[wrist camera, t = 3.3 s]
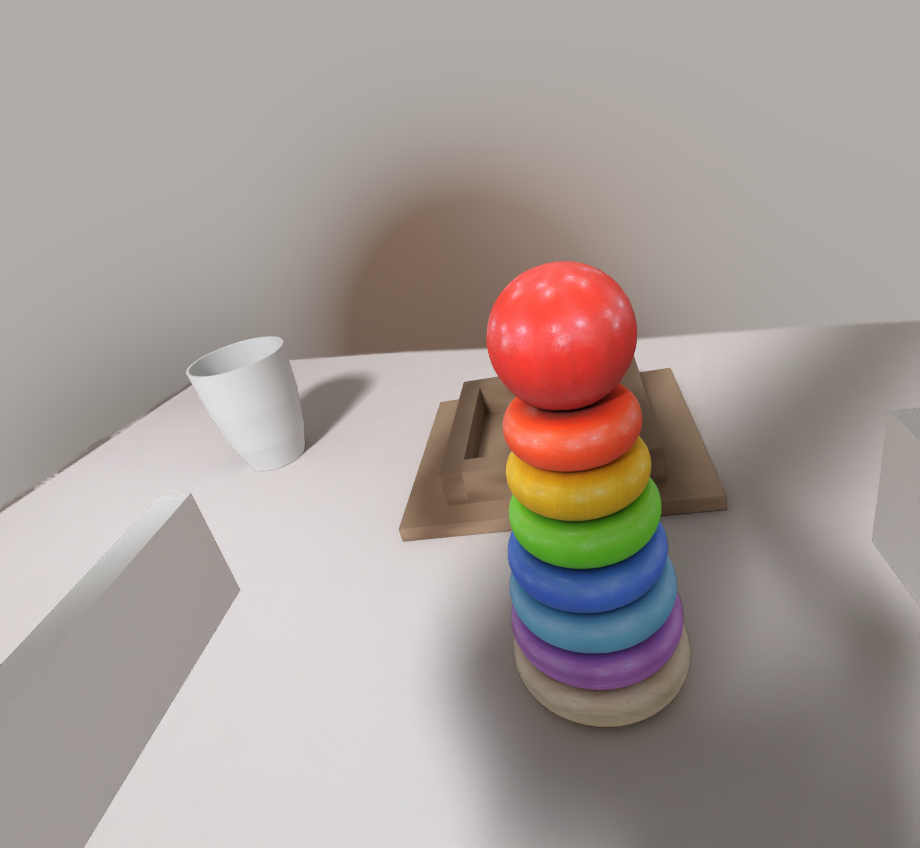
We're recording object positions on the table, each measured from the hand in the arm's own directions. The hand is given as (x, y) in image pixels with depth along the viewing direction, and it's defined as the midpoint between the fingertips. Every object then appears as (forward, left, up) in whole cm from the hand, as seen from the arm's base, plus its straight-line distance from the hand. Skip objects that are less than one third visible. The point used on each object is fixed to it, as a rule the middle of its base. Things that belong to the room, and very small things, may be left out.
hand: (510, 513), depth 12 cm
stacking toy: (-1, -11, -17) cm, 20 cm away
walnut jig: (+1, -30, -17) cm, 34 cm away
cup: (+26, -35, -17) cm, 47 cm away
